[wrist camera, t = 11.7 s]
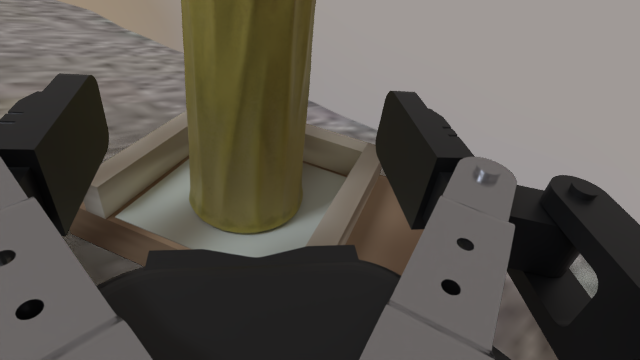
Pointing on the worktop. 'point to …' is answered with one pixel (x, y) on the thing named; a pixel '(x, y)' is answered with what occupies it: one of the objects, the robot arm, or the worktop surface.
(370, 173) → the dock
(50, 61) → the worktop surface
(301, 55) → the vase
